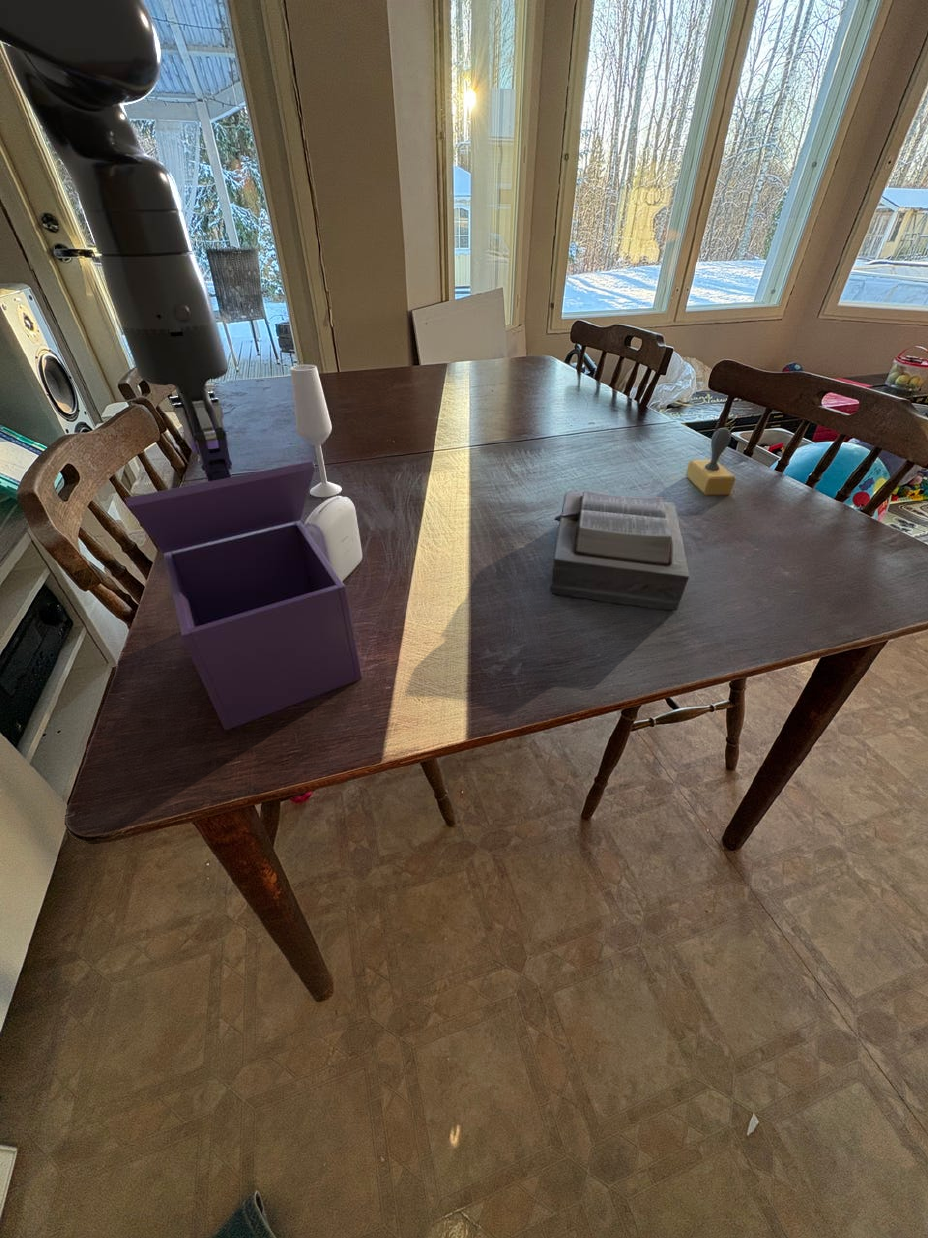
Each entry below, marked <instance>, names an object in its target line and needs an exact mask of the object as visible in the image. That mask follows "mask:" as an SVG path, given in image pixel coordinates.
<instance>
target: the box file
mask: <svg viewBox="0 0 928 1238" xmlns="http://www.w3.org/2000/svg"><path fill="white" fill-rule="evenodd" d="M163 558H164V562H165V567H166V573H167V577H168V581H169V585H170V590H171V595H172V600H173V605H174V608H175V612H176V617H177V623H178V626H179V631H180V637H181V639H182V640H183V642H184V645H185V647H186V649H187V651H188V653H189V655H190V658H191V659H192V662H193V665H194V666H195V669H196V671H197V673H198V676H199V677H200V679H201V682H202V684H203V686H204V688H205V690H206V693H207V695H208V697H209V699H210V702H211V704H212V706H213V708H214V709H215V712H216V714H217V716H218V718H219V721H220V723H221V725H222V727H223V729H224V731H229V730H231V729H234V728H236V727H238V726H241V725H245V724H246V723H247V724H248V723H250V722H252V721H255V720H257V719H260V718H262V717H266V716H268V715H271V714H273V713H275V712H278V711H281V710H283V709H286V708H288V707H292V706H295V705H296V704H299V703H301V702H305V701H307V700H311V699H312V698H315V697H317V696H320V695H323V694H325V693H328V692H331V691H333V690H336V689H338V688H342V687H344V686H346V685H349V684H353V683H354V682H357V681H359V680H362V679H363V677H362V671H361V665H360V660H359V655H358V649H357V644H356V638H355V633H354V627H353V620H352V616H351V610H350V606H349V605H350V604H349V599H348V594H347V588H346V585H345V584H344V583H343V581H341V580H340V578H339V577H338V575H337V574H336V572H335V571H334V569H333V568H332V566H331V565H330V564H329V562H328V561H327V559H326V558H325V556H324V555H323V553H322V552H321V550H320V549H319V548H318V546H317V545H316V543H315V542H314V540H313V539H312V537H311V536H310V534H309V533H308V532H307V530H306V529H305V527H304V524H303V523H302V522H301V520H299V521H295V522H291V523H287V524H282V525H278V526H274V527H270V528H266V529H262V530H258V531H253V532H249V533H245V534H241V535H237V536H233V537H229V538H224V539H220V540H216V541H212V542H208V543H204V544H200V545H195V546H191V547H187V548H183V549H179V550H175V551H171V552H166V553H163Z"/></svg>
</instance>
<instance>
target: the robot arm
mask: <svg viewBox="0 0 928 1238" xmlns="http://www.w3.org/2000/svg"><path fill="white" fill-rule="evenodd" d="M0 42H1V43H2V46H3V50H4V52H5V55H6V57H7V60H8V62H9V65H10V67H11V70H12V72H13V74H14V76H15V78H16V80H17V83H18V84H19V86H20V88H21V90H22V92H23V94H24V96H25V98H26V100H27V103H28V104H29V106H30V107H31V109H32V111H33V113H34V115H35V117H36V119H37V120H38V122H39V125H40V126H41V128H42V131H43V132H44V134H45V136H46V137H47V140H48V142H49V143H50V145H51V148H52V149H53V150H54V152H55V154H56V156H57V158H58V159H59V161H60V162H61V164H62V165H63V167H64V169H65V171H66V173H67V174H68V176H69V178H70V180H71V182H72V183H73V186H74V188H75V191H76V195H77V198H78V201H79V204H80V207H81V211H82V213H83V217H84V219H85V221H86V224H87V227H88V230H89V232H90V235H91V239H92V240H93V243H94V247H95V248H96V251H97V253H98V254H99V255H98V258H99V260H100V263H101V267H102V271H103V275H104V280H105V283H106V288H107V291H108V294H109V297H110V300H111V302H112V305H113V307H114V310H115V313H116V316H117V318H118V321H119V324H120V326H121V327H120V328H121V330H122V332H123V335H124V338H125V341H126V343H127V346H128V348H129V352H130V354H131V356H132V359H133V362H134V364H135V367H136V370H137V373H138V375H139V377H140V378H141V379H142V380H143V381H144V382H146V383H149V384H151V385H157V386H168V385H172V386H174V387H175V390H176V394H177V396H169V400H170V403H171V406H172V409H173V412H174V414H175V415H176V418H177V420H178V422H179V424H180V425H181V426H182V429H183V432H184V435H185V438H186V442H187V444H188V445H189V447H190V449H191V452H192V453H193V454H196V456H197V457H198V460H197V462H198V464H199V466H200V468H201V471H203V473H204V475H205V478H206V481H207V482H209V481H214V480H219V479H224V478H229V477H232V476H231V472H230V470H233V468H232V466H233V463H232V460H231V458H230V453H229V440H228V437H227V436H228V435H227V432H226V429H225V427H224V423H223V419H224V413H223V410H222V405H221V401H220V400H219V398H218V397H216V395H215V392H214V391H209V390H208V389H207V388H208V387H207V382H209V381H211V380H217V379H219V378H222V377H223V376H225V375H226V374H227V373H228V371H229V364H228V359H227V357H226V352H225V349H224V345H223V341H222V338H221V337H222V336H221V333H220V330H219V329H220V328H219V325H218V321H217V319H216V314H215V311H214V307H213V303H212V300H211V296H210V291H209V289H208V286H207V282H206V279H205V277H204V274H203V271H202V269H201V266H200V264H199V262H198V258H197V256H196V253H195V252H194V251H195V249H194V246H193V241H192V238H191V234H190V230H189V227H188V223H187V219H186V215H185V212H184V207H183V204H182V200H181V196H180V193H179V190H178V188H177V184H176V181H175V179H174V177H173V176H172V174H171V172H170V170H168V168H167V167H166V166H165V165H164V164H163V163H162V162H160V161H159V160H157V159H155V158H154V157H152V156H149V155H147V154H146V152H144V149H143V148H142V146H141V143H140V141H139V138H138V137H137V134H136V132H135V129H134V126H133V125H132V122H131V119H130V117H129V114H128V113H127V110H126V106H125V105H129V104H133V103H134V104H135V103H137V102H139V101H142V100H143V99H144V98H146V97H147V96H148V95H150V93H151V92H153V90H154V89H155V88H156V85H157V83H158V81H159V78H160V75H161V71H162V61H163V60H162V59H163V58H162V46H161V40H160V37H159V33H158V30H157V26H156V25H155V22H154V19H153V17H152V14H151V13H150V11H149V9H148V6H147V5H146V3H145V1H144V0H0Z"/></svg>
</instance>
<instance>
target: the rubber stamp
mask: <svg viewBox="0 0 928 1238" xmlns="http://www.w3.org/2000/svg"><path fill="white" fill-rule="evenodd" d="M731 438H732V435H731V431H730V430H729V429H728V428H726V427H721V428H718V429H716V430H715V431H714V433H713V434H712V436H711V440H710V447H711V459H691V460H690V461H688V465H687V470H686V473H685V476H686V477H687V478H688V479H689V480H690V481H691V482H692V484H694V485H695V486H696V487H697V489H698V490H700V491H701V492H702V493H703V494H704V495H705V496H720V495H721V496H723V495H730V494H731V493H732V490H733V487H734V485H735V481H736V476H734V474H733V473H731V472H730V471H729V470H728V469H726V468H725V467H724V466H723V465H722V464H721V463H720V462H719V458H720V456H721V455H722V454H723V452H724V451H725V450H726V449H727V447H728V446H729V444H730V442H731Z"/></svg>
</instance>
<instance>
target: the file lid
mask: <svg viewBox="0 0 928 1238" xmlns="http://www.w3.org/2000/svg"><path fill="white" fill-rule="evenodd" d="M314 463H315V462H314V461H313V460H311V461H305V462H301V463H295V464H291V465H286V466H280V467H274V468H271V469H265V470H260V471H255V472H250V473H245V474H240V475H234V476H231V477H229V478H224V479H219V480H214V481H209V482H208V481H204V482H200V483H195V484H188V485H183V486H180V487H174V488H170V489H169V488H168V489H164V490H159V491H154V492H149V493H148V492H147V493H143V494H139V495H134V496H129V497H124V502H125V504H126V507H127V508H128V509H129V511H130V512H131V514H132V515H133V516H134V517H135V519H136V520H137V521H138V523H139V524H140V525H141V527H142V528H143V529H144V531H145V532H146V533H147V534H148V536H149V537H150V538H151V540H152V541H153V543H155V545H156V547H158V549H159V550H160V551H161V552H162V554H164V553H169V552H173V551H177V550H181V549H185V548H190V547H194V546H198V545H202V544H206V543H210V542H214V541H219V540H223V539H227V538H231V537H235V536H239V535H243V534H247V533H252V532H256V531H260V530H264V529H268V528H272V527H276V526H281V525H285V524H289V523H293V522H294V523H295V522H297V521H301V519H302V516H303V512H304V509H305V506H306V502H307V498H308V495H309V493H310V488H311V484H312V481H313V478H314V474H315V470H316V467H315V464H314Z"/></svg>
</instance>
